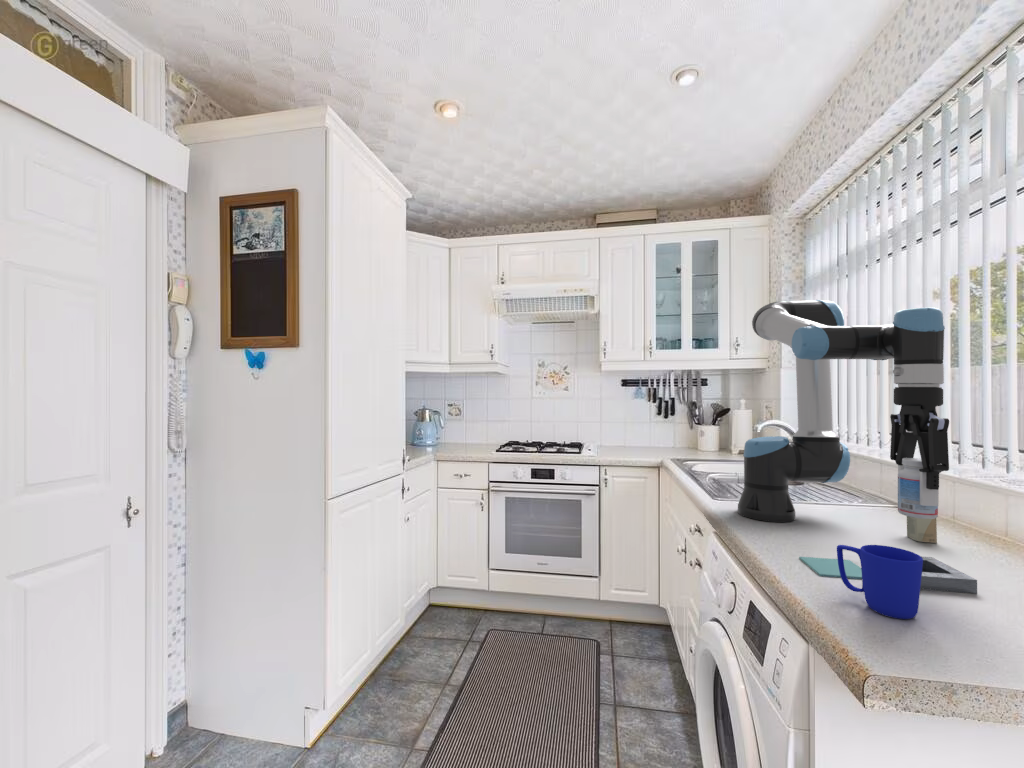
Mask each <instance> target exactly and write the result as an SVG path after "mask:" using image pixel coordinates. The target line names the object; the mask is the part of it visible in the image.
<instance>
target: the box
mask: <svg viewBox="0 0 1024 768" xmlns="http://www.w3.org/2000/svg"><path fill="white" fill-rule="evenodd" d="M937 528H938V527H937V518H935V519H922V518H914V517H909V516H906V536H907V537H908V538H910V539H912V540H913V541H915V542H919V543H921V542H923V543H933V544H937V543H938V536H937V535H938V532H937V530H938V529H937Z"/></svg>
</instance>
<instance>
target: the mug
mask: <svg viewBox="0 0 1024 768" xmlns="http://www.w3.org/2000/svg"><path fill="white" fill-rule="evenodd" d="M843 550H845V551H849V552H853V553H856V555H858V557H859V561H860V568H861V570H862V579H861V584H862V585H861V588H859V587H856V586H854V585H853V584H852V583H851V582H850V580H849V578H847V576H846V573H845V568H844V561H843V560H844V554H843V553H844V552H843ZM836 555H837V556H836V559H838V566H839V572H840V576H841V578H840V579H841V581H842V583H843V584H844V586H845V587H846V588H847V589H848V590H850V591H853V592H856V593H864V594H863V595H864V599H865V602H866V604H867V606H868V607H869V608H870V609H871V610H873V611H874V612H876V613H878V614H880V615H883V616H886V617H889V618H893V619H897V620H898V619H900V620H910V619H914V618H915V617H916V616H917V615H918V611H919V607H920V606H919V605H920V596H921V595H920V593H921V589H920V586H921V576H922V566H923V558H922V557H921V556H922V555H919V554H918V553H915V552H913V551H910V550H906V549H904V548H900V547H895V546H889V545H882V544H880V545H879V544H865V545H862V546H860V548H859V547H855V546H851V545H847V544H846V545H845V544H838V545H837V546H836Z"/></svg>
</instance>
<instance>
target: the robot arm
mask: <svg viewBox="0 0 1024 768" xmlns="http://www.w3.org/2000/svg"><path fill="white" fill-rule="evenodd" d="M751 325H752V329H753V332H754V333H755V334H756V335H757V336H758V337H760V338H762V339H763V340H767V341H777V342H779V343H782V344H784V345H786V346H788V347H790V348H791V350H792V352H793V353H794V354H793V355H794V356H795V371H796V372H795V373H796V374H795V375H796V376H795V377H796V402H797V403H796V404H797V431H795V433H794V434H793V435H792V441H790V440H789V438H788V437H787V436H781V435H778V436H775V435H774V436H773V435H772V436H771V435H770V436H759V437H754V438H749V439H748V440H746V441H745V443H744V448H743V449H744V450H743V467H744V468H743V473H744V474H743V481H744V482H743V483H744V485H743V490H742V492H741V496H740V498H739V501H738V503H737V513H738V515H740V516H743V517H745V518H748V519H752V520H757V521H761V522H762V521H763V522H772V523H788V522H794V521H795V520H796V509H795V507H794V504H793V501H792V498H791V495H790V492H789V482H802V483H803V482H806V483H821V484H826V483H838V482H840V481H842V480H844V478H845V476H846V475H848V472H849V469H850V464H851V453H850V451H849V448H848V446H847V445H846V444H845V443H843V442H841V441H840V436H839V435H838V433H836V432H835V431H834V428H833V426H834V425H833V424H834V423H833V405H832V404H833V403H832V401H833V400H832V379H831V360H872V361H887V360H890V359H891V360H892V359H893V370H892V374H893V383H894V384H895V385H897V386H895V387H894V388H893V404H894V405H895V406H900V409H899V413H891V414H890V415H889V416H890V422H891V431H890V432H891V435H890V452H889V453H890V455H889V457H890V460H891V461H895V464H896V465H897V473H898V472H899V471H900V470H902V469H904V466H903V464H902V459H903V458H915V457H914V456H915V454H916V453H915V452H916V447H917V445H918V450H919V455H920V459H921V460H922V465H923V468H922V469H919V471H920V505H922V506H938V507H939V488H940V473H942V472H948V471H949V470H950V461H949V460H950V459H949V457H950V456H949V439H948V438H949V437H948V436H949V435H948V430H949V425H950V420H949V418H945V417H944V418H943V417H942V418H941V417H940V416H938V413H937V409H936V407H941V406H943V405H944V388H942V387H940V385H943V384H944V383H945V382H944V381H945V378H944V377H945V376H944V374H945V372H944V353H945V351H944V350H945V348H944V346H945V345H944V344H945V329H946V328H945V325H944V314H943V310H941V309H940V308H937V307H916V308H905V309H901V310H897V312H895V314H894V317H893V320H892V323H890V324H881V325H880V324H878V325H845V317H844V314H843V310H842V309H841V307H840V306H839V305H838V304H837V303H836V302H835V301H831V300H822V299H815V300H814V299H813V300H812V299H811V300H810V299H809V300H808V299H807V300H788V301H787V300H781V301H774V302H770V303H768V304H765V305H763V306H762V307H761V308H759V309H758V310H757V311H756V312H755V313H754V315H753V317H752V320H751Z"/></svg>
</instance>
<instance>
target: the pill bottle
mask: <svg viewBox="0 0 1024 768" xmlns="http://www.w3.org/2000/svg"><path fill="white" fill-rule="evenodd" d="M902 464H903V466H904V469H902V470H900V471H899V472H898V471H897V511H898V513H899V514H900V515H903V516H905V517H907V516H909V517H914V518H922V519H935V518H936V519H937V518H938V517H939V505H938V506H922V505H920V471H919V469H922V468H923V465H922V460H921V458H917V457H916V458H915V457H913V458H903V459H902Z"/></svg>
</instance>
